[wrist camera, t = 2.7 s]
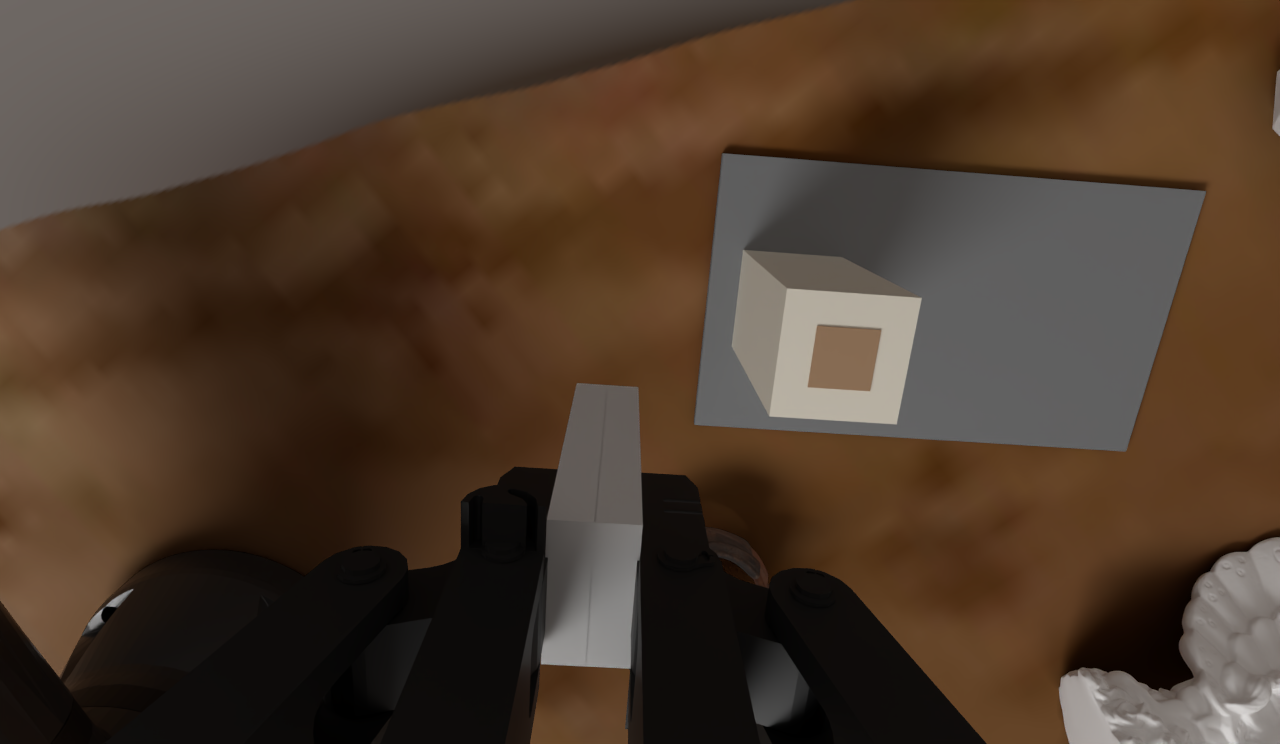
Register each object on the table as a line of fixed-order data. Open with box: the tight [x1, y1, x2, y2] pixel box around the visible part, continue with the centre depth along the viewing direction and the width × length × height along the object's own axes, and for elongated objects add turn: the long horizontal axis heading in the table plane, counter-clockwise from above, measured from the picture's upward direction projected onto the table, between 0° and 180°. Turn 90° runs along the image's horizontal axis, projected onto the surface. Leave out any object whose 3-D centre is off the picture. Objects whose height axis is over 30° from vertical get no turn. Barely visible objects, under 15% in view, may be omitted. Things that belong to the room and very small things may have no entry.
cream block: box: [732, 250, 922, 424], centre depth 31 cm, size 5×5×10 cm
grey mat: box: [694, 153, 1206, 451], centre depth 37 cm, size 24×14×1 cm, turn 86°
